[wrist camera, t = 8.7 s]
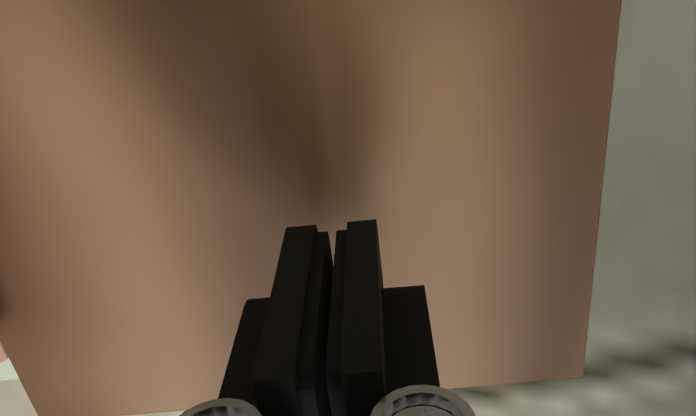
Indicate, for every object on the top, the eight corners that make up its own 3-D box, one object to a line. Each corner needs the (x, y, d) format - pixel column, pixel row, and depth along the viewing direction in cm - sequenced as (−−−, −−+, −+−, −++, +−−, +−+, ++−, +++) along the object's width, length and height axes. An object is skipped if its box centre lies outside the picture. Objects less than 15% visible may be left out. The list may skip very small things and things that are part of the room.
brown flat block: (558, -122, 13) (633, -118, 10) (538, 282, 19) (582, 377, 15) (-51, -45, 14) (-182, -18, 11) (96, 323, 19) (41, 422, 16)
